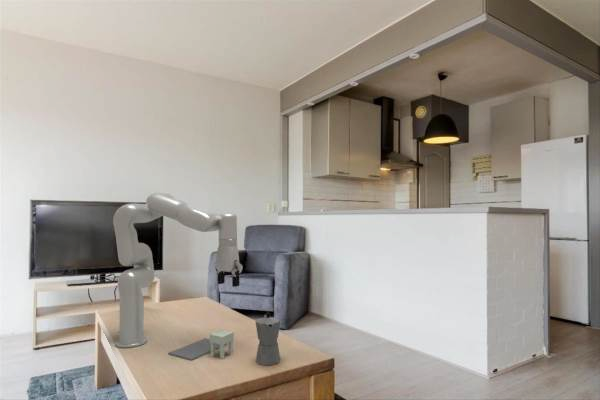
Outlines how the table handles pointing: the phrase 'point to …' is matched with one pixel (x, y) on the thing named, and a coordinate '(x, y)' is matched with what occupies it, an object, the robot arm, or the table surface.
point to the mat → (194, 350)
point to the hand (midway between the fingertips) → (228, 284)
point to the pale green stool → (222, 342)
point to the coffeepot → (268, 340)
